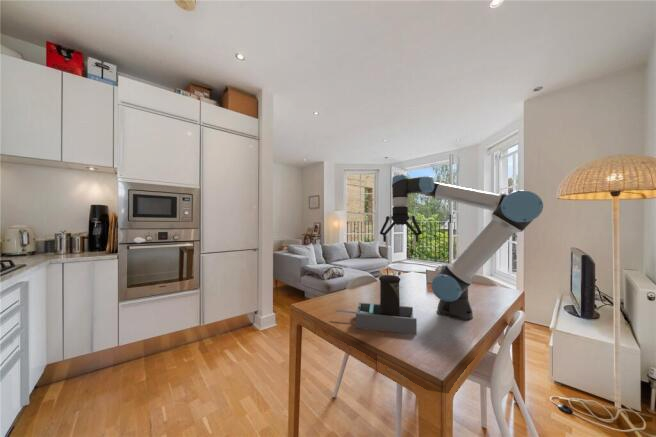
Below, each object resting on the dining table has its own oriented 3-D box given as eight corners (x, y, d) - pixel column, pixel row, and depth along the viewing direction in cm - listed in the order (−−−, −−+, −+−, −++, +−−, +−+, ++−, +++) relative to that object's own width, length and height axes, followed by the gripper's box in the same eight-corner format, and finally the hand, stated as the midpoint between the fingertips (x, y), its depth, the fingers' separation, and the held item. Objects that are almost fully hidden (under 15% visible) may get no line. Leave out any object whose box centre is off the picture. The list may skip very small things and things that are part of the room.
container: (401, 327, 98) (401, 278, 98) (379, 325, 100) (378, 277, 100) (399, 318, 106) (399, 274, 107) (379, 317, 108) (378, 273, 109)
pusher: (373, 314, 110) (373, 303, 110) (372, 324, 99) (372, 312, 99) (338, 311, 114) (338, 301, 114) (333, 321, 103) (334, 309, 103)
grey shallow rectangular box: (412, 320, 108) (412, 306, 108) (416, 334, 94) (416, 319, 94) (359, 315, 113) (359, 302, 113) (355, 328, 99) (355, 313, 99)
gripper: (424, 206, 121) (424, 248, 121) (374, 207, 125) (374, 247, 125) (428, 205, 114) (428, 249, 113) (375, 206, 118) (375, 249, 117)
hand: (400, 248), depth 119 cm, fingers open, 13 cm apart
